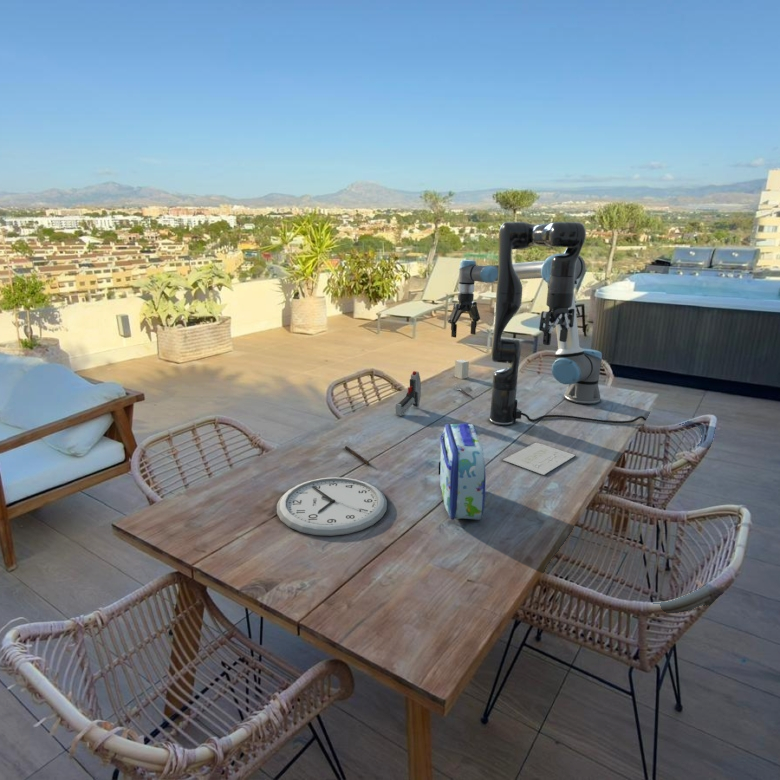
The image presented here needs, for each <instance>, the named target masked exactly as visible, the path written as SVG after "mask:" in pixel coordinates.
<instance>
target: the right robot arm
mask: <svg viewBox="0 0 780 780" xmlns="http://www.w3.org/2000/svg"><path fill="white" fill-rule="evenodd" d="M561 254H562V253H555V254H552V255H550V256H548V257H547V258H545V260H539V261H538V260H537V261H527V262H517V263H515V262H514V263H512V265H513V268H514V270H515V272H516V274H517V275H518V277H519V279H520V280H532V279H533V280H534V279H542V280H544V281H545V283H547V284H546V285H547V286H548V284H549V279H550V274H551V264H552V259H553V257H555V256H557V255H561ZM498 266H499V264H492V265H491V264H490V265H481V264H479V265H478V264H477V263H476V260H473V259H472V260H471V259H462V260H461V261H460V262H459V268H458V270H459V271H458V290H457V291H458V293H457V301H458V303H455V302H454V303H453V307H452V310H451V313H450V315H449V318H448V320H447V323H449V324H450V331H451V335H450V337H451V338H457V333H458V332H457V330H458V329H457V328H458V324H457V322H458V321H459V319H460V317H461V316H462V314H464V313H466V312H467V313H468V315H469V317H470V319H471V321H470V334H471V335H476V330H477V327H478V326H477V325H478V322H480V320H481V316H480V313H479V309H478V303H477V301H474V297H475V296H474V295H475V294H474V293H475V282H480V283H486V284H489V283H490V284H493V283H495V282H498ZM585 271H586V262H585V260H584V258H583V257H582V256H581V255H579V257H578V259H577V262H576V268H575V276H574V289H575V288H576V287H577V285H578V280H579V279H581V277H582V276H583V275H584V273H585ZM575 298H576V297H575V291H574V292H573V301H572V306H571V307H570V308H571V309H574V310H575V311H574V322H573V327H572V328H571V327H570V329H569V330H568V335H567V341H566V342H562V341H560V340H559V339H560V330H561V327H560V325H559V324H558V325H556V327H555V332H556V340H557V350H556V351H555V352H554V356H555V360H554V362H553V363H552V365H551V373H552V376H553V377H554V379H555V380H556V381H557V382H558V383H560V384H562V385H568V386H567V387H566V390H565V391H564V395H563V397H564V399H565V400H566V401H568V402H570V403H574V404H578V405H579V404H580V405H596V404H599V403H600V402H601V393H600V387H599V380H600V374H601V366H602V361H603V359H602V358H603V353H602V352H601V351H599V350H596V349H591V348H584V347H583V348H582V347H581V346H580V337H579V328H578V318H577V309H576V299H575ZM569 323H570V320H569Z"/></svg>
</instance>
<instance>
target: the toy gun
mask: <svg viewBox="0 0 780 780" xmlns="http://www.w3.org/2000/svg"><path fill="white" fill-rule="evenodd" d="M421 394H422V381H421V376H420V372H419V371H416V370H413V371H412V372H411V374H410V379H409V386H408V387H407V393H406V395H405V396H404V397H403V398H402V399H401V400H400V401H399V402H398V403H395V415H396V416H399V417H402V416H404V415H405V414H406V413H407V412H408V411H409V409H410V408H411V407H412V406H413V407H414V408H417V409H419V407H420V402H421V396H422V395H421Z"/></svg>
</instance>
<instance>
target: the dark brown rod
mask: <svg viewBox="0 0 780 780" xmlns="http://www.w3.org/2000/svg"><path fill="white" fill-rule="evenodd" d="M344 449H345V450H346V451H348V452H349V453H350V454H352V455H353V456H355V457H356V458H358V459H359V460H361V461H362V462H363V463H364V464H366V465H370V461H368V460H367V459H366V458H364V457H363V456H361V455H360V454H358V453H357V452H356V451H354V450H353V449H352V448H350V447H348V446H347V445H345V446H344Z"/></svg>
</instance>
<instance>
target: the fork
mask: <svg viewBox="0 0 780 780" xmlns="http://www.w3.org/2000/svg"><path fill="white" fill-rule="evenodd" d="M453 385H454V388H455V390H456V391H461V392H462V394H464V395H465V396H467V397H470V395H469V394H468V393H467V392H466V391H464V390H462V388H461V386H460V384H459V383H454V384H453Z"/></svg>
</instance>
